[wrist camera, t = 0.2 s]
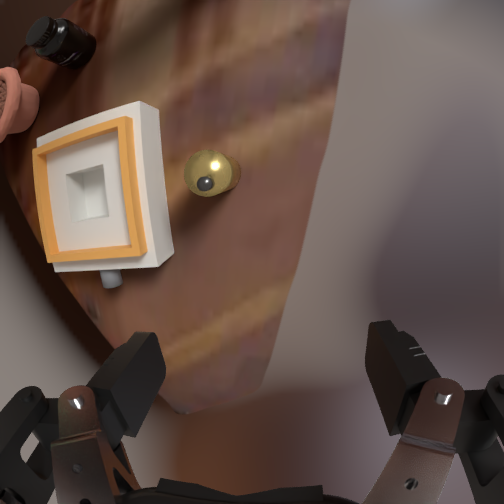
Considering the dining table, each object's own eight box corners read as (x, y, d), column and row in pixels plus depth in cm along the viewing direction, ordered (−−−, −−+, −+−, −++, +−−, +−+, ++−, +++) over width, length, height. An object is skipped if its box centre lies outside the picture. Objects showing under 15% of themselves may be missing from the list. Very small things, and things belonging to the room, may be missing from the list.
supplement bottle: (80, 75, 32) (31, 58, 21) (60, 63, 32) (14, 46, 20) (105, 41, 31) (61, 14, 19) (83, 30, 30) (41, 7, 18)
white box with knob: (61, 139, 35) (27, 138, 28) (158, 109, 34) (131, 97, 26) (81, 277, 41) (52, 296, 34) (177, 273, 40) (156, 296, 32)
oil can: (203, 157, 35) (177, 152, 25) (239, 153, 35) (225, 145, 25) (207, 192, 36) (182, 200, 26) (242, 189, 36) (229, 195, 26)
